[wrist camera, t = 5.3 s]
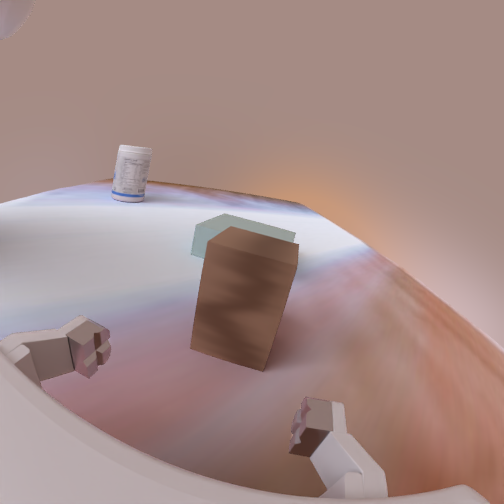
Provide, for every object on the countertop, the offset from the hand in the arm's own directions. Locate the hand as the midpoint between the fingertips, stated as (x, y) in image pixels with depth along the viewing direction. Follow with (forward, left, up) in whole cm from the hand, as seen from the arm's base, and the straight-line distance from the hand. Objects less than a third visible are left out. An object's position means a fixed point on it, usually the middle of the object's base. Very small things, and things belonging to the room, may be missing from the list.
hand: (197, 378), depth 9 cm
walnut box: (0, +12, -7) cm, 14 cm away
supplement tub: (-42, +55, -7) cm, 70 cm away
